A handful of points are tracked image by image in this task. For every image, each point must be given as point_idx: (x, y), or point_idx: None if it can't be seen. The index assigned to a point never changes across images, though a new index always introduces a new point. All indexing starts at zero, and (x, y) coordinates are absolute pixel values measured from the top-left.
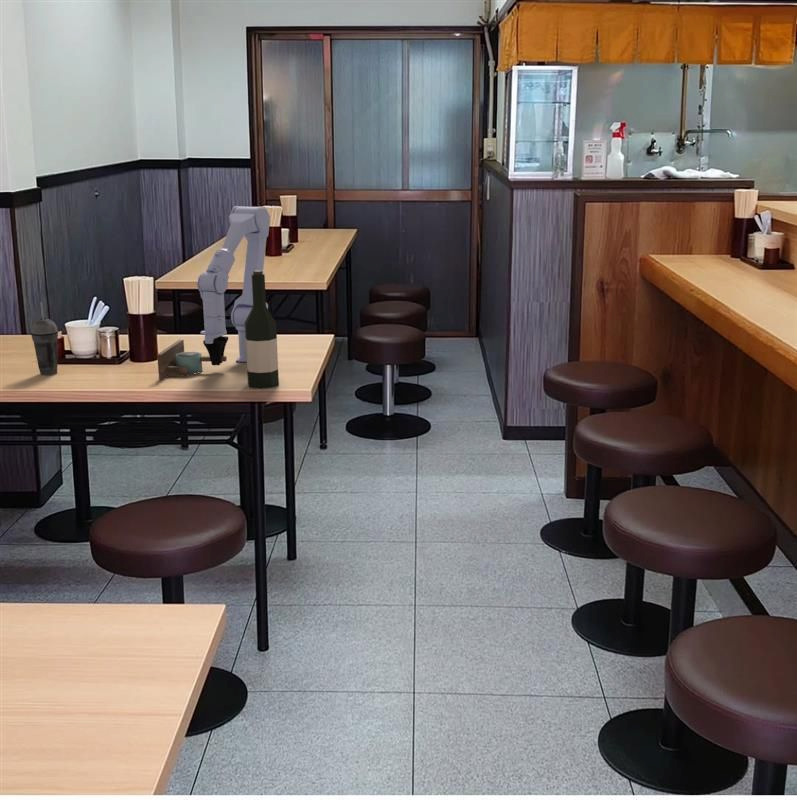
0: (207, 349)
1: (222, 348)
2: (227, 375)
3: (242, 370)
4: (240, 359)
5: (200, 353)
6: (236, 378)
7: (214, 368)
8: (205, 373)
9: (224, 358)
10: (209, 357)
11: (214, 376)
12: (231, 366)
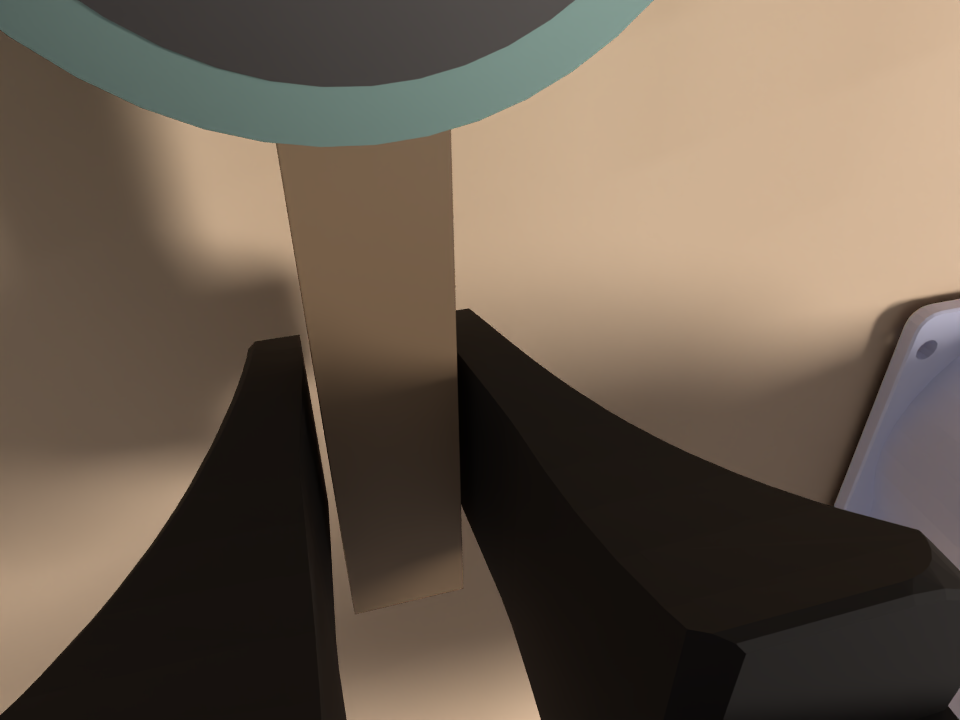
0: (107, 614)
1: (533, 666)
2: (158, 506)
3: (470, 534)
4: (946, 354)
5: (520, 76)
6: (27, 653)
7: (588, 160)
8: (192, 145)
9: (351, 590)
10: (314, 366)
11: (19, 379)
12: (691, 343)
